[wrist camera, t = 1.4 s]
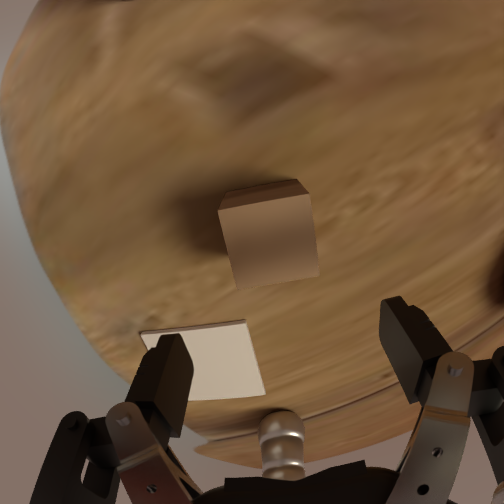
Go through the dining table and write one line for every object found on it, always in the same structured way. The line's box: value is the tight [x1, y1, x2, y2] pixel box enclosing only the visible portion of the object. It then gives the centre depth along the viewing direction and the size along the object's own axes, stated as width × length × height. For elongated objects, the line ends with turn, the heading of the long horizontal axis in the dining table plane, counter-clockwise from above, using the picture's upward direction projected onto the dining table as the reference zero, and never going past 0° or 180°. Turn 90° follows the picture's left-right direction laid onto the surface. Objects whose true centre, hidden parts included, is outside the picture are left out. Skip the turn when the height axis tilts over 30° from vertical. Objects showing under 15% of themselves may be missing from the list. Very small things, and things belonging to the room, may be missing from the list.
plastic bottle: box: [258, 411, 306, 481], centre depth 27 cm, size 6×7×20 cm
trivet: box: [141, 320, 266, 401], centre depth 31 cm, size 12×12×1 cm
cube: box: [217, 179, 320, 290], centre depth 22 cm, size 6×6×6 cm
